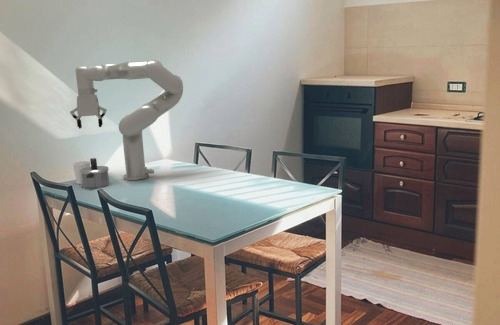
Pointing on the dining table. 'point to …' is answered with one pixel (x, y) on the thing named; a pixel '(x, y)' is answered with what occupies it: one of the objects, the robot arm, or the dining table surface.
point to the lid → (94, 168)
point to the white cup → (78, 167)
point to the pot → (95, 180)
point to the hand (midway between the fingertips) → (90, 127)
